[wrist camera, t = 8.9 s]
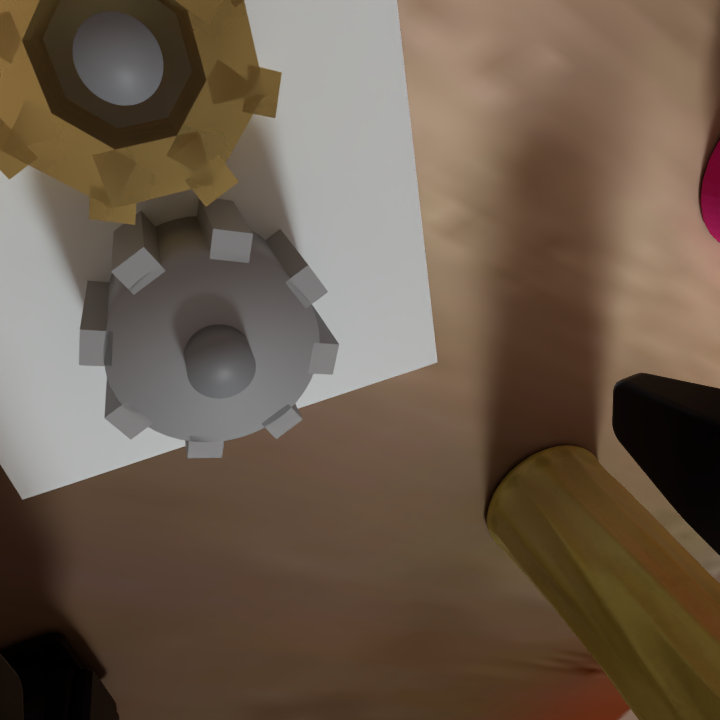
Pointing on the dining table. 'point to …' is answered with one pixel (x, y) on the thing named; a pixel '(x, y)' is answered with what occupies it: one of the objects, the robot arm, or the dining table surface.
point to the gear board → (213, 250)
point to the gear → (140, 141)
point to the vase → (615, 581)
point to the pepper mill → (712, 194)
